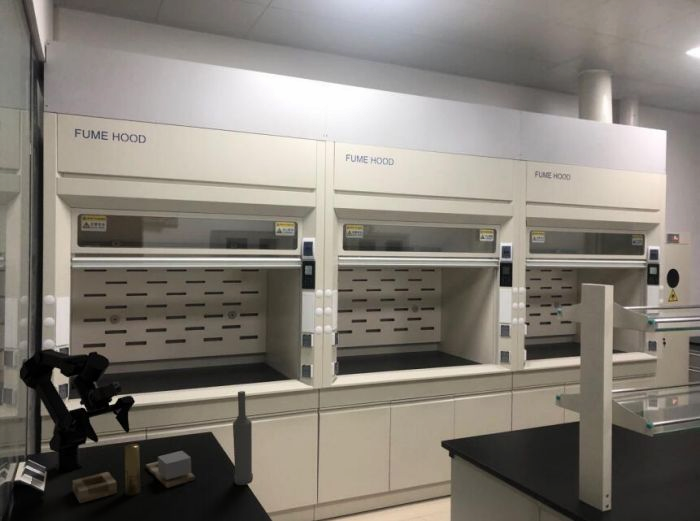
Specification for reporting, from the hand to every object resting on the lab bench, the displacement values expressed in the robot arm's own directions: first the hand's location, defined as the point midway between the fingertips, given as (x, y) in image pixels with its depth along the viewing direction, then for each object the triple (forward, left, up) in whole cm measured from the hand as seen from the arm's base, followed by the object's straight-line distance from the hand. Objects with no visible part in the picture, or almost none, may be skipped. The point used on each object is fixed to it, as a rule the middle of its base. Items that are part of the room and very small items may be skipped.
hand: (113, 436), depth 149 cm
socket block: (+1, -5, -14) cm, 15 cm away
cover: (+6, +15, -12) cm, 20 cm away
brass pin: (+8, +3, -14) cm, 16 cm away
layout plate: (+2, +15, -14) cm, 20 cm away
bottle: (+21, +29, -14) cm, 38 cm away
